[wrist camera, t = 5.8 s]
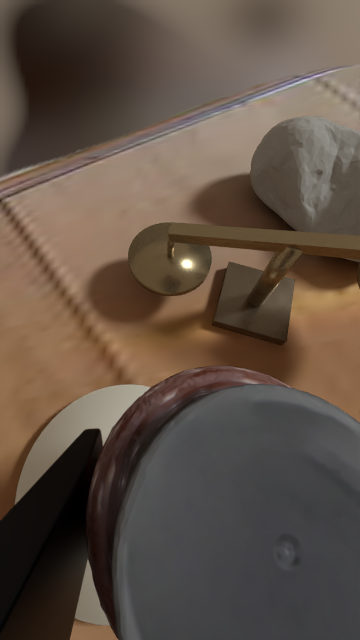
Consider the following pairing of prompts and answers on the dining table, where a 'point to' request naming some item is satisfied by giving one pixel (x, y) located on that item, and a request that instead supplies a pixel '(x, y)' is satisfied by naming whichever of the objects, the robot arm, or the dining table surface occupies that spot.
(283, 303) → the balance
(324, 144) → the decorative stone
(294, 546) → the supplement bottle
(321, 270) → the dining table surface
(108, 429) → the cream dish
